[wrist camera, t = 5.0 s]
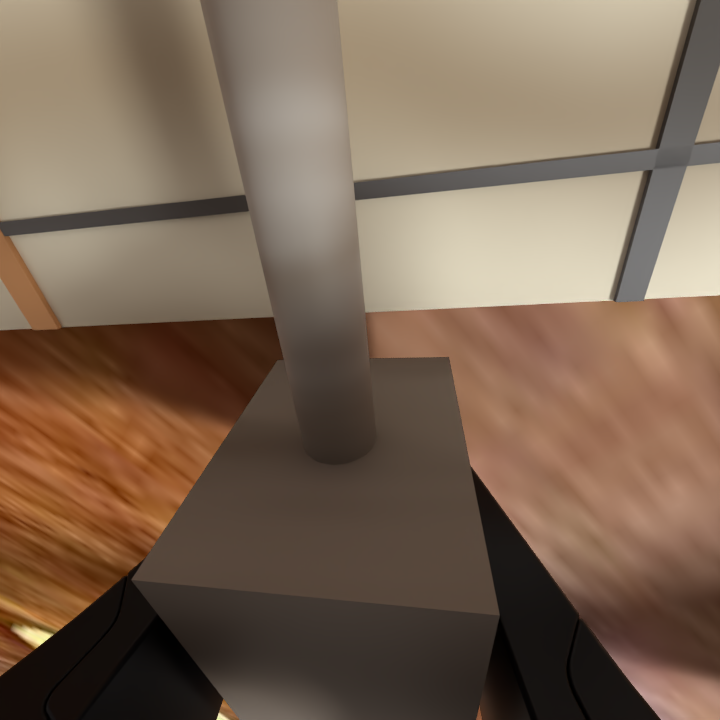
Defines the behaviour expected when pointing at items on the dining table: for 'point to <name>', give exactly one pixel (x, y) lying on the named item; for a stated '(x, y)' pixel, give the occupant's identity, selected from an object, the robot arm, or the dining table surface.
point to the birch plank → (364, 158)
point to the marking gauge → (324, 441)
